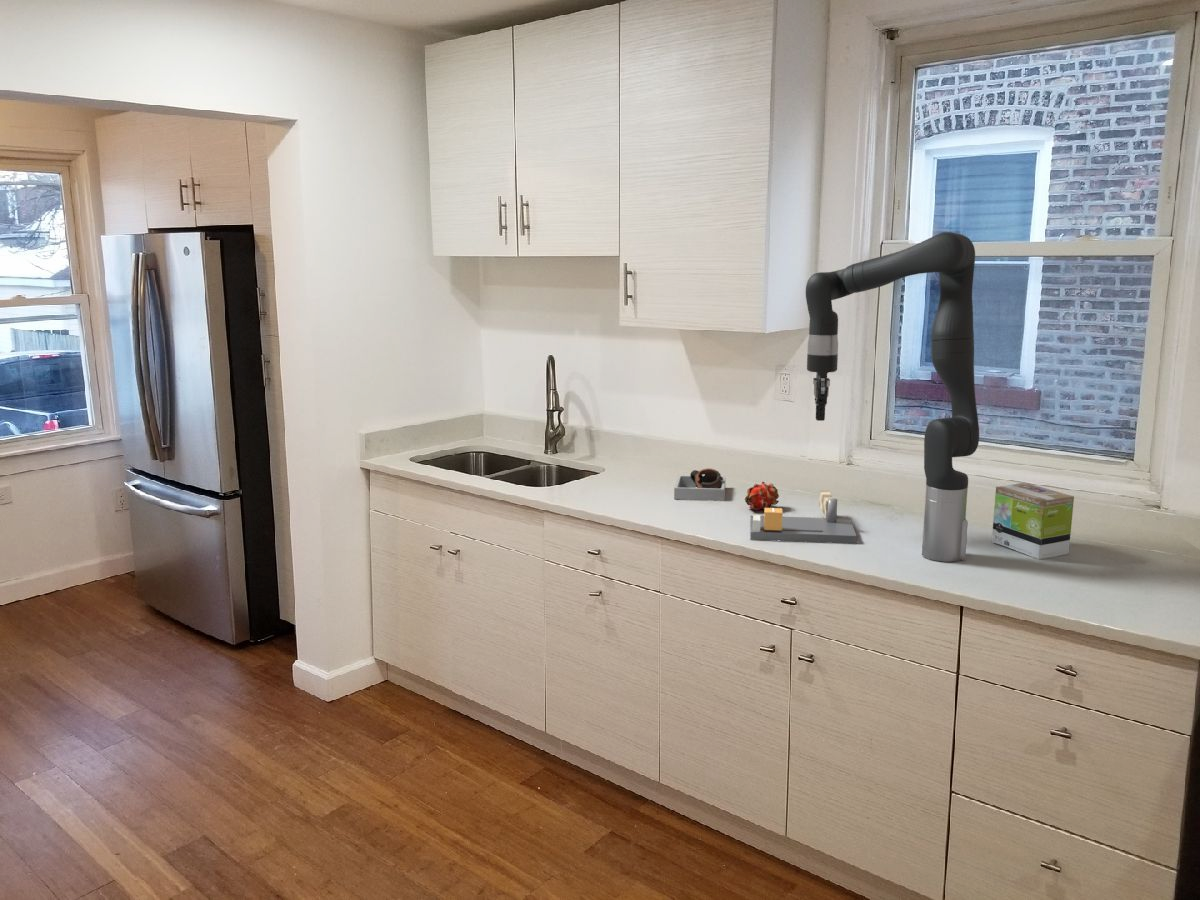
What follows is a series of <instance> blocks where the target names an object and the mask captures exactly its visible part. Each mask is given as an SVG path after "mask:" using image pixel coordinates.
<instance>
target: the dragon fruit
mask: <svg viewBox="0 0 1200 900" xmlns="http://www.w3.org/2000/svg"><path fill="white" fill-rule="evenodd" d="M778 491H779V490H778V489H777V487H776V486H775V485H774V484H773V483H769V484H766V483H765V481H761V483H760V484H758V483H755V484H753V486H751V487H749V488H748V489H747V491H746V493H747V495H746V496H745V498H744V502H745V503H746V505H747V506H749V509H748V510H750V511H754V510H757V511H759V510H762V509H763V510H764V508H772V507H771V506H775V505H778V503H779V502H780V501H779V500H778V499H779V497H780V495H779V492H778Z"/></svg>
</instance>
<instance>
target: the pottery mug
mask: <svg viewBox="0 0 1200 900" xmlns="http://www.w3.org/2000/svg"><path fill="white" fill-rule="evenodd" d="M689 476H691V479H692V480H693V482H694V483H695V484H696V487H697V488H715V489H721V486H722V482H721V480H723V478H722V477H723V476H722V474H721V473H720V472H719V471H718V470H716V469H715V468H703V469H701V470H696V469H694V470H692V471H691V472H690V475H689ZM717 477H718V478H717ZM701 483H702V484H701Z"/></svg>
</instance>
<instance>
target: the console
mask: <svg viewBox="0 0 1200 900" xmlns="http://www.w3.org/2000/svg"><path fill="white" fill-rule="evenodd" d="M837 517H838V498H834V497H833V498H829V499H828V510H827V518H826V517H812V516H811V517H805V516H782V530H764V515H760V514H753V515H750V522H749V523H750V529H749V530H750V531H749V532H750V534H749V535H750V540H751V541H770V540H776V542H778V541H777V540H780V541H779V542H797V541H802V542H803V543H825V542H832V544H852V543H856V544H857V537H858V536H857V534H856V533H857V532H855V531H856V530H855V529H854V528H855V527H854V525H853V523H852V520H851V518H843V517H842V518H837ZM805 541H806V542H805ZM802 542H801V543H802Z"/></svg>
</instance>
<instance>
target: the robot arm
mask: <svg viewBox="0 0 1200 900" xmlns="http://www.w3.org/2000/svg"><path fill="white" fill-rule="evenodd" d="M975 261H976V250H975V245H974V243H973V241H972V240H971V239H970V238H969V237H968V236H966V235H965V234H960V233H955V232H950V231H945V232H940V233H938V234H935V235H934V236H931V237H930V238H927V239H924V240H923V241H920V242H919V243H916V244H914V245H912V246H909V247H907V248H905V249H902V250H899V251H896V252H893V253H889V254H885V255H882V256H878V257H875V258H870V259H867V260H863V261H859V262H857V263H851V264H850V265H847V266H845V268H842V269H838V270H833V271H826V272H825V271H824V272H823V271H822V272H821V271H819V272H816V273H813V274H812V275H811V276H810V277H809V278H808V279H807V281H806V285H805V301H806V305H807V312H808V315H809V325H808V326H809V327H808V332H809V333H808V340H807V352H806V353H807V357H806V370H807V371H808V372H811V373H816V374H815V377H813V379H812V384H813V395H814V404H815V420H816V421H821V422H822V421H825V420H826V419H825V418H826V406H827V404H828V397H829V393H830V392H829V390H830V389H829V388H830V385H831V379H830V378H829V377H828V373H836V372H837V371H838V361H839V360H838V358H839V357H838V356H839V339H838V337H839V335H838V333H839V316H838V313H837V312H836V311H834V310H833V303H832V301H833V300H834V301H835V300H838V299H842V298H844V297H847V296H850V295H852V294H856V293H861V292H866V291H869V290H873V289H877V288H880V287H884V286H886V285H888V284H891V283H893V282H896V281H898V280H900V279H903V278H906V277H909V276H913V275H915V276H916V275H919V274H928V273H930V274H931V273H938V275H939V276H938V277H939V289H940V290H939V293H940V294H939V303H938V307H937V309H936V314H935V316H934V320H933V324H932V329H931V337H930V340H931V341H930V342H931V343H930V345H931V362H932V366H933V367H934V370H935V371H936V374H937V375H938V377H939V378H940V380H941V382H942V384H943V385H944V386H945V389H946V390H947V392H948V395H949V399H950V406H951V417H944V418H935V419H933V420H930V422H928V424H927V426H926V429H925V431H924V432H925V433H924V438H923V441H924V442H923V448H924V449H923V455H924V456H923V459H924V460H923V469H924V476H925V496H924V512H923V514H924V515H923V527H922V529H923V530H922V545H921V555H922V556H923V558H926V559H928V560H930V561H931V560H932V561H935V562H936V561H937V562H944V563H948V562H950V563H951V562H959V561H966V554H967V553H966V551H967V541H968V540H967V537H968V523H969V522H968V520H967V519H966V516H967V502H968V488H969V476H968V474H966V473H965V472H962V471H959V470H956V469H954V466H953V458H960V457H968V456H971V455H973V454H974V453H976V451H977V449H978V446H979V443H980V425H979V424H980V423H979V417H978V407H977V399H976V386H975V366H974V365H975V362H974V361H975V339H974V338H975V333H974V332H975V331H974V308H973V307H974V306H973V284H974V274H975V273H974V271H975V264H976V263H975Z"/></svg>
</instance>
